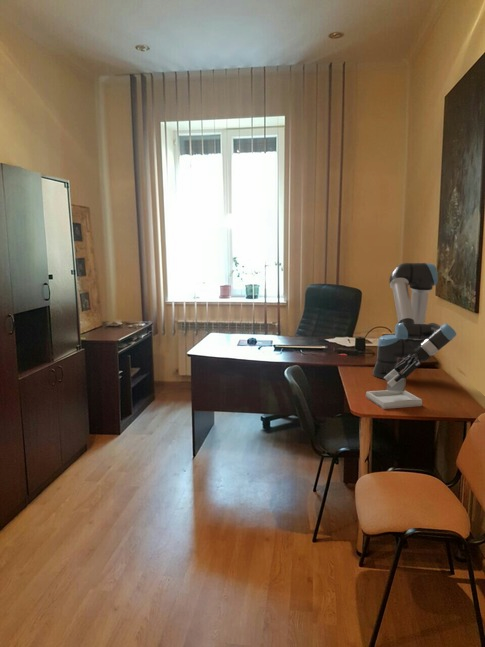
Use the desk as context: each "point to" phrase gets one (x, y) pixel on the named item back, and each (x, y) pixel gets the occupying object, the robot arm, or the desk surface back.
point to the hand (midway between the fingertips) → (387, 382)
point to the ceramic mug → (398, 386)
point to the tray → (393, 399)
